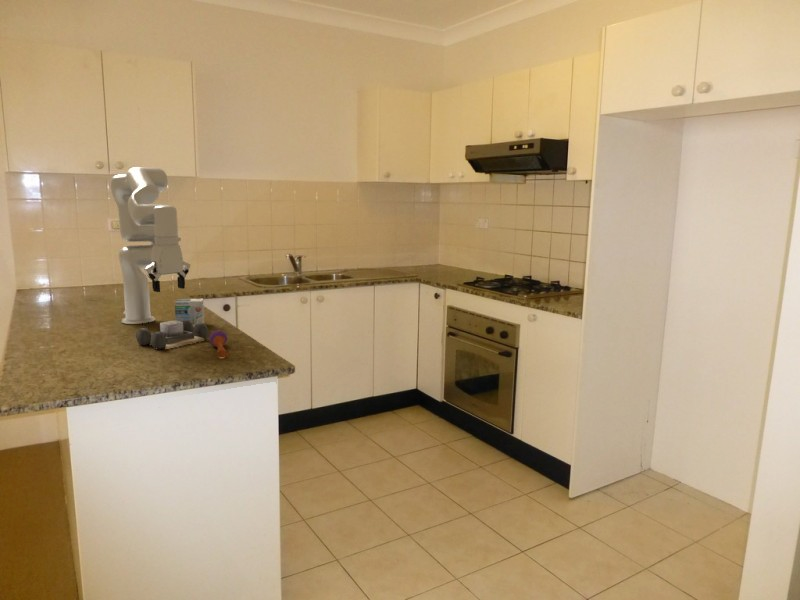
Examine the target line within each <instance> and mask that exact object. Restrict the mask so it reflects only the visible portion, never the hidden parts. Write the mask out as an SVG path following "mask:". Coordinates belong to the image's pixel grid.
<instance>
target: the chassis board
mask: <svg viewBox="0 0 800 600" xmlns="http://www.w3.org/2000/svg"><path fill="white" fill-rule="evenodd" d="M181 322H183V333H184V334H183V335H178V336H174V337H169V338H168V337H165V335H164V333H163V332H161V331H155V332H152V333H151V332H150V330H149V329H148V328H147V327H142V328H138V329H137V330H136V332H135V335H136V336H135V337H136V340H137V343H138V345H140V344H142V345H144V346H147V344H151V345H152V347H153V349H155V348H157V349H159V350H161V349H162V348H172V347H176V346H181V345H185V344H190V343H194V342H198V341H202V340H204V341H205V340H206V338H207V339H208V336H209V335H210V334H209V328H208V325H206V323H205V322H204V323H200V324H196V325H195V326H194V327H193V325H192V323H191V322H190V321H189V320H184V321H181ZM151 345H150V346H151ZM162 350H163V349H162Z"/></svg>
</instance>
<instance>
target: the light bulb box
mask: <svg viewBox="0 0 800 600" xmlns="http://www.w3.org/2000/svg"><path fill="white" fill-rule="evenodd" d="M204 306H205V305H204V298H177V299H176V300H175V301H174V318H175V319H174V320H175V321H180V322H181V321H184V320H189V321H190V322H191V323H192V325H193V326H195V325H196V324H200V323H204V324H205V309H204V308H205V307H204Z"/></svg>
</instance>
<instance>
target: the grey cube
mask: <svg viewBox="0 0 800 600" xmlns="http://www.w3.org/2000/svg"><path fill="white" fill-rule="evenodd" d="M159 330H160V331H161V332H163V333H164V335H165V337H168V338H169V337H174V336H178V335H183V334H184V333H183V322H180V321H175V319H174V320H168V321H163V322H160V323H159Z"/></svg>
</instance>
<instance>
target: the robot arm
mask: <svg viewBox="0 0 800 600" xmlns="http://www.w3.org/2000/svg"><path fill="white" fill-rule="evenodd" d="M168 184H169V179H168V175H167V173H166V171H164V169H162V168H159V167H141V166H140V167H139V166H136V167H135V166H134V167H132V168H130V169H128V171H126V173H125V174H122V173H121V174H117V175H114V176H112V177H111V179H110V191H111V195H112V197H113V199H114V202H115V204H116V206H117V212H118V218H119V219H118V220H119V221H118V222H119V229H120V235H121V236H120V237H121V239H122V240H123V241H124V242H127V243H141V242H142V243H144V242H145V243H146V242H148V243H150V244H145V245H144V244H139V245H135V244H134V245H126V246H123V247H122V248H120V250H119V251H118V259H119V264H120V267H121V275H122V284H123V285H122V286H123V298H124V300H123V301H124V311H123V312H122V314H123V315H124V316H125V317H123V318H121V323H123V324H125V325H126V324H127V325H140V324H142V323H143V324H148V322H149V323H152V322H154V321H156V318H155V316H153V315H151V301H150V300H151V299H150V287H149V286H150V285H149V279H150V280H151V283H152V287H151V288H152V291H153V292H156V293H161V284H160V283H161V281H160V278H161V276H163V275H173V274H177V288H178V289H185V288H186V287H185V286H186V278H187V275H188V274H189V271H190V269H191V264H190V263H188V262H186V261H184V259H183V252H182V248H181V245H180V244H179V242H181V240H182V239H181V237H179V232H178V231H179V229H178V228H179V227H178V212H177V208H176V207H175V206H172V205H170V204H161V203H160V204H156V201H157V200H158V198H159V196H160V194H161V193H163V192H164V191H165V190H166V189H167V188H168ZM142 269H143V270H144V272H145V273H144V272H143V271H142Z"/></svg>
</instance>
